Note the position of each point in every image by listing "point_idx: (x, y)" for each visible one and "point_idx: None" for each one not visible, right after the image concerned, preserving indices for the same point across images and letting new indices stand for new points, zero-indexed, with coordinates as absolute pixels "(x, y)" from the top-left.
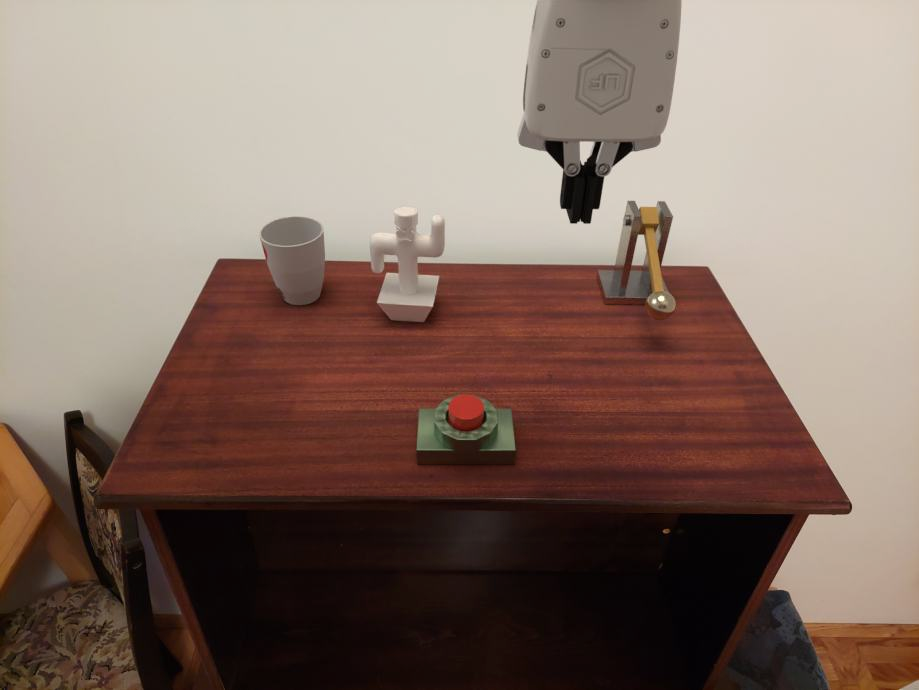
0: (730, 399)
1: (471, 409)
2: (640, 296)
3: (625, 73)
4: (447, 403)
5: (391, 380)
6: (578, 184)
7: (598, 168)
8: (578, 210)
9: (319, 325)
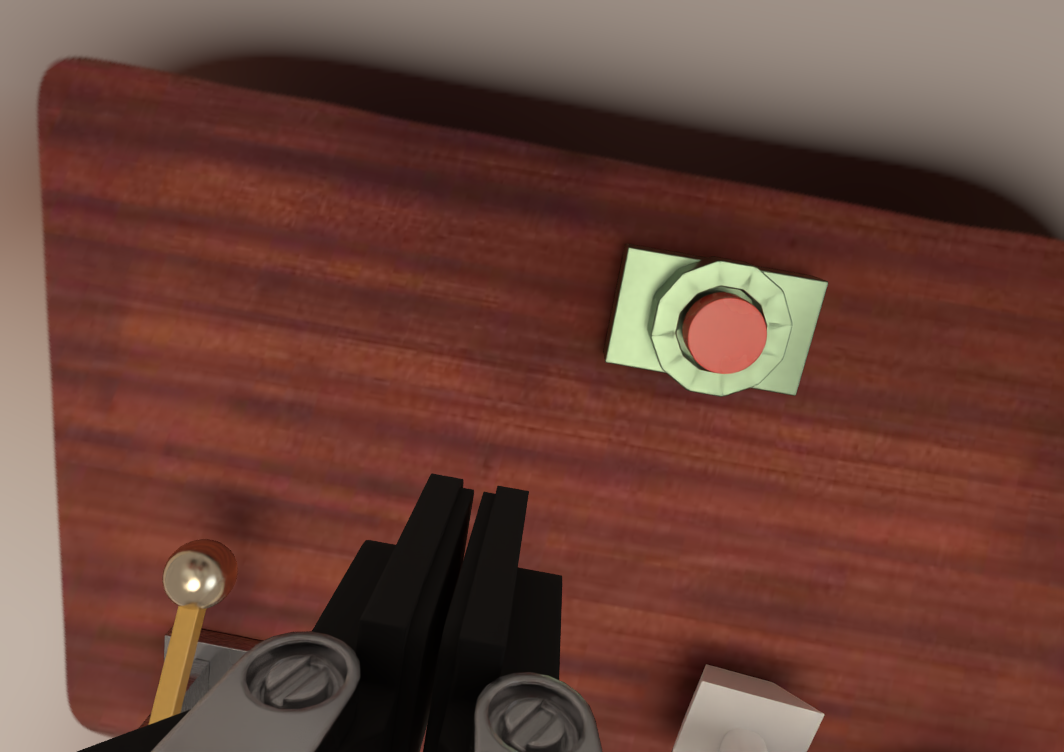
0: (146, 338)
1: (718, 325)
2: (229, 651)
3: None
4: (750, 374)
5: (811, 508)
6: (495, 612)
7: (330, 693)
8: (493, 517)
9: (926, 693)
